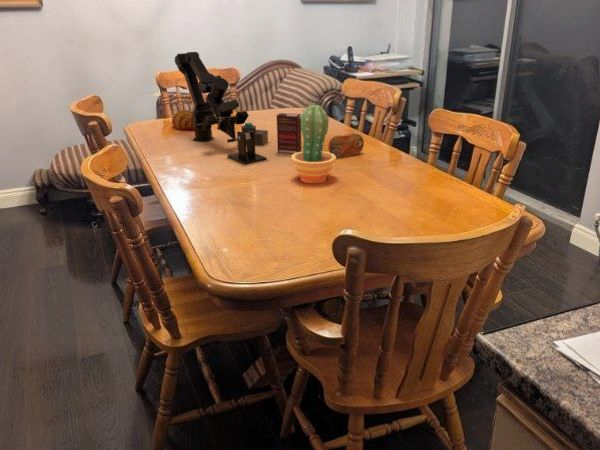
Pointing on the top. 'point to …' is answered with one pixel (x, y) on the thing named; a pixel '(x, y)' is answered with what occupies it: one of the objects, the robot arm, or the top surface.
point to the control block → (257, 135)
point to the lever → (237, 139)
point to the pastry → (182, 119)
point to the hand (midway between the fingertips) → (234, 138)
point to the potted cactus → (313, 146)
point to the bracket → (249, 155)
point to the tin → (346, 145)
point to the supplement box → (288, 133)
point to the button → (248, 125)
